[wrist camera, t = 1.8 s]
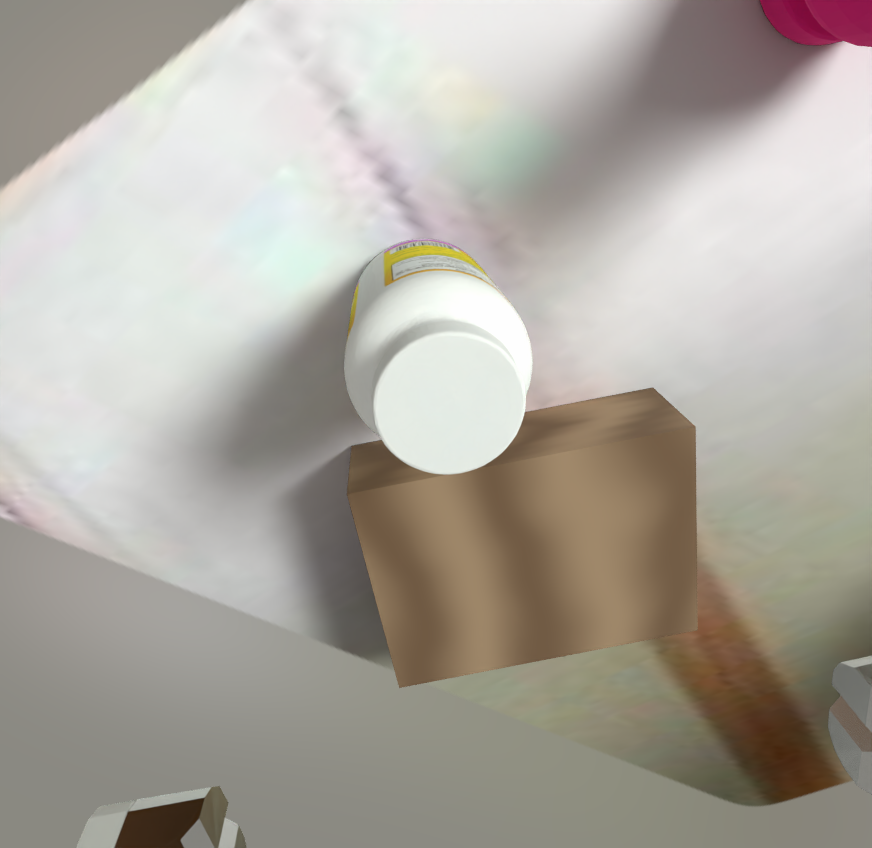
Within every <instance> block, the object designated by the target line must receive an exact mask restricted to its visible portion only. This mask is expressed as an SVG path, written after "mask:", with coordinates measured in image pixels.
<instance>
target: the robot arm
mask: <svg viewBox="0 0 872 848" xmlns="http://www.w3.org/2000/svg"><path fill="white" fill-rule="evenodd" d="M832 685H833V687H834V688H835V689H836V690H837V691H838V693H839V694H840V695H841V696H840V697H839V698H838V699H837V701H836V702H835V703H834V704H833V705H832V706H831V708H830V709H829V722H828V729H829V732H830V736H831V739H832V743H833V746H834V749H835V751H836V753H837V755H838V757H839V759H840V761H841V763H842V765H843V767H844V768H845V770H846V771H847V772H848V774H849V775H850V777H851V778H852V779H853V781H854V782H855V784H856V785H857V786H858V787H860V788H861V789H863V790H865V791H867V792H868V793H870V794H872V656H868V657H863V658H858V659H854V660H849V661H844V662H840V663H839V664H838V665H837V666H836V668H835V669H834V670H833V678H832ZM227 806H228V802H227V799H226V798H225V796H224V794H223V792H222V790H221V788H220V787H219V786H218V787H210V788H204V789H198V790H192V791H186V792H180V793H174V794H168V795H162V796H156V797H150V798H144V799H138V800H133V801H128V802H122V803H116V804H111V805H106V806H100V807H99V808H98V809H97V810H96V811H95V812H94V814H93V815H92V816H91V817H90V818H89V820H88V821H87V823H86V825H85V828H84V830H83V833H82V835H81V837H80V840H79V842H78V844H77V846H76V848H246V843H245V839H244V836H243V833H242V831H241V829H240V827H239V825H238V824H236V823H234V822H232V821H230V820H229V819H227V818H225V815H226V811H227Z"/></svg>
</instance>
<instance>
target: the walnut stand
mask: <svg viewBox="0 0 872 848" xmlns="http://www.w3.org/2000/svg"><path fill="white" fill-rule="evenodd" d="M347 496H348V500H349V504H350V508H351V511H352V515H353V519H354V522H355V526H356V530H357V533H358V537H359V541H360V544H361V548H362V552H363V555H364V559H365V563H366V567H367V570H368V574H369V578H370V581H371V585H372V589H373V592H374V596H375V600H376V603H377V607H378V611H379V615H380V618H381V622H382V626H383V629H384V633H385V637H386V640H387V644H388V648H389V651H390V655H391V659H392V663H393V666H394V670H395V674H396V677H397V681H398V684H399V688H401V687H405V686H411V685H417V684H422V683H427V682H432V681H437V680H442V679H448V678H453V677H458V676H463V675H468V674H473V673H479V672H484V671H489V670H494V669H499V668H505V667H510V666H515V665H520V664H525V663H530V662H536V661H541V660H546V659H551V658H556V657H561V656H567V655H572V654H577V653H582V652H587V651H592V650H598V649H603V648H608V647H613V646H618V645H624V644H629V643H634V642H639V641H644V640H649V639H655V638H660V637H665V636H670V635H675V634H680V633H686V632H691V631H696V630H698V626H697V528H696V429H695V426H694V425H693V424H692V423H691V422H690V421H689V420H688V419H687V418H685V417H684V416H683V415H682V414H681V413H680V412H679V411H678V410H677V409H676V408H675V407H674V406H672V405H671V404H670V403H669V402H668V401H667V400H666V399H665V398H664V397H663V396H662V395H660V394H659V393H658V392H657V391H656V390H655V389H654V388H648V389H643V390H638V391H633V392H628V393H623V394H617V395H612V396H607V397H602V398H597V399H592V400H586V401H581V402H576V403H571V404H566V405H561V406H555V407H550V408H545V409H540V410H535V411H530V412H525V413H524V417H523V421H522V423H521V426H520V428H519V430H518V433H517V435H516V436H515V438H514V439H513V441H512V442H511V443H510V444H509V446H508V447H507V448H506V449H505V450H504V451H503V452H502V453H501V454H500V455H499V456H498V457H496V458H495V459H494V460H492V461H490V462H489V463H487V464H486V465H484V466H482V467H479V468H477V469H474V470H471V471H468V472H465V473H459V474H449V475H443V474H433V473H428V472H424V471H421V470H418V469H416V468H414V467H411V466H409V465H407V464H406V463H404V462H403V461H401V460H400V459H398V458H397V457H396V456H395V455H394V454H392V453H391V452H390V451H389V449H388V448H387V447H386V446H385V444H384V443H383V441H382V440H380V441H375V442H370V443H364V444H359V445H354V446H351V457H350V467H349V477H348V488H347Z"/></svg>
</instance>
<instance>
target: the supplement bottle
mask: <svg viewBox="0 0 872 848" xmlns="http://www.w3.org/2000/svg"><path fill="white" fill-rule="evenodd" d="M344 374H345V381H346V386H347V390H348V394H349V396H350V399H351V402H352V404H353V406H354V408H355V410H356V411H357V413H358V414H359V416H360V418H361V419H362V420H363V421H364V423H365V424H366V425H367V426H368V427H369V428H370V429H371V430H372V431H373V432H374V433H376V434H377V435H378V436H380V438H381V440H382V441H383V443H384V444H385V446H386V447H387V448H388V449H389V451H390V452H391V453H392V454H394V455H395V456H396V457H397V458H398V459H400V460H401V461H403V462H404V463H406V464H407V465H409V466H411V467H414V468H416V469H418V470H421V471H424V472H428V473H433V474H443V475H449V474H459V473H465V472H468V471H471V470H474V469H477V468H479V467H482V466H484V465H486V464H487V463H489V462H490V461H492V460H494V459H495V458H496V457H498V456H499V455H500V454H501V453H502V452H503V451H504V450H505V449H506V448H507V447H508V446H509V444H510V443H511V442H512V441H513V439H514V438H515V436H516V435H517V433H518V430H519V428H520V426H521V423H522V421H523V417H524V413H525V405H526V394H527V391H528V388H529V385H530V380H531V374H532V350H531V344H530V339H529V336H528V333H527V331H526V328H525V326H524V323H523V322H522V320H521V318H520V316H519V315H518V313H517V311H516V310H515V309H514V307H513V306H512V304H511V303H510V302H509V301H508V300H507V299H506V297H505V296H504V295H503V294H502V293H501V291H500V290H499V289H498V288H497V287H496V285H495V284H494V283H493V281H492V280H491V279H490V278H489V277H488V276H487V274H486V273H485V272H484V271H483V269H482V268H481V267H480V266H479V265H478V264H477V263H476V262H475V261H474V260H473V259H472V258H471V257H470V256H469V255H468V254H467V253H465V252H464V251H462V250H461V249H459V248H458V247H456V246H454V245H451V244H449V243H446V242H443V241H439V240H435V239H412V240H407V241H403V242H400V243H397V244H395V245H393V246H391V247H389V248H387V249H385V250H384V251H382V252H381V253H380V254H378V255H377V256H376V257H375V258H374V259H373V260H372V261H371V262H370V263H369V264H368V266H367V267H366V268H365V270H364V271H363V273H362V275H361V276H360V278H359V281H358V283H357V286H356V288H355V292H354V296H353V301H352V308H351V315H350V322H349V329H348V337H347V343H346V348H345V358H344Z"/></svg>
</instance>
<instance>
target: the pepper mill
mask: <svg viewBox="0 0 872 848" xmlns="http://www.w3.org/2000/svg"><path fill="white" fill-rule="evenodd" d="M760 2H761V5H762V8H763V10H764V13H765V15H766V17H767V18H768V20H769V21H770V22H771V24H772V25H773V27H774V28H775V29H776V30H777V31H778V32H779V33H781V34H782V35H783V36H784V37H786V38H788V39H790V40H792V41H794V42H796V43H800V44H805V45H825V44H831V43H836V42H840V41H845V42H848V43H851V44H854V45H857V46H868V47H872V0H760Z"/></svg>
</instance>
